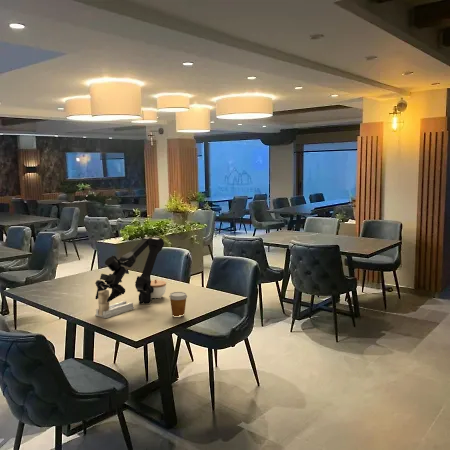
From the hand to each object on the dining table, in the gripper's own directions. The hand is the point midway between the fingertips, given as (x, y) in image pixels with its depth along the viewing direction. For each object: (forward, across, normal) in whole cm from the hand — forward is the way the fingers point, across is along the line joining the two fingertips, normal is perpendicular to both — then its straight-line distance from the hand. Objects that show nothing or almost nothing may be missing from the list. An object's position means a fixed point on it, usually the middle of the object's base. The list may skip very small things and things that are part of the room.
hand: (101, 300), depth 245 cm
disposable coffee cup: (-11, +32, +24) cm, 41 cm away
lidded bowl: (-24, -2, +37) cm, 44 cm away
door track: (0, 0, +12) cm, 13 cm away
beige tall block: (+4, 0, +6) cm, 8 cm away
